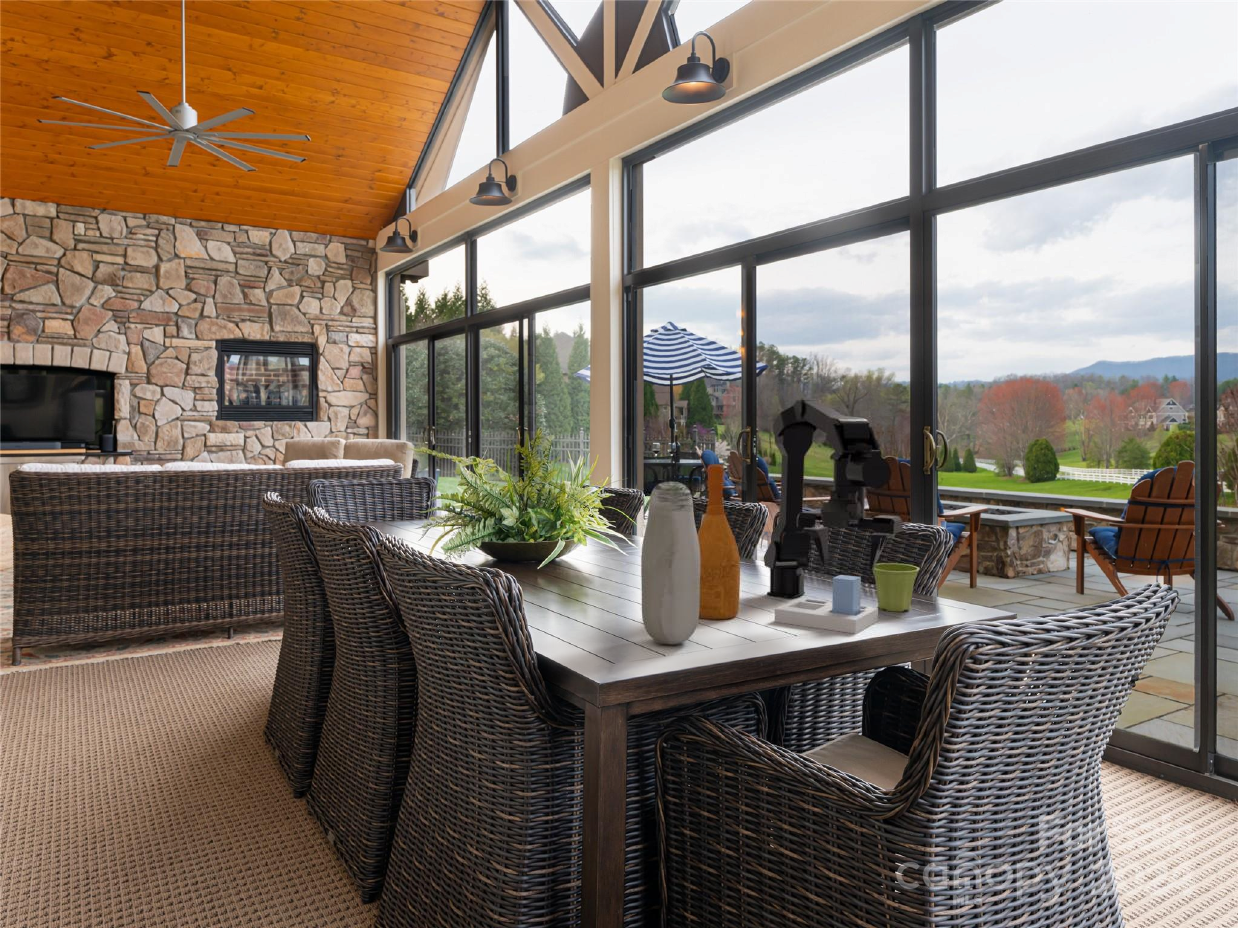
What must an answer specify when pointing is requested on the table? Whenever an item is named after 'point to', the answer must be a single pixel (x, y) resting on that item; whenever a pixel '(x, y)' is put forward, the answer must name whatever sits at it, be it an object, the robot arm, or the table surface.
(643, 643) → the table surface
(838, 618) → the white socket block
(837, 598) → the plug
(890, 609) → the plant pot
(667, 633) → the grey vase
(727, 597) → the wine bottle
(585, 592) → the table surface
